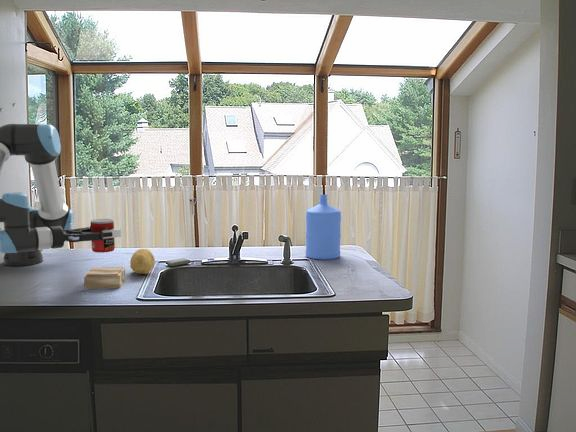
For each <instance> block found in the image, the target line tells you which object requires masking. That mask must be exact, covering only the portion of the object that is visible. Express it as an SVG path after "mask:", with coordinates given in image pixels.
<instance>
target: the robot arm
mask: <svg viewBox="0 0 576 432" xmlns="http://www.w3.org/2000/svg"><path fill="white" fill-rule="evenodd" d="M61 151H62V145H61V138H60V135H59V132H58V130H57V128H56V127H55V126H54V125H52V124H44V123H37V124H36V123H35V124H33V123H8V124H4V125H1V126H0V174H1V173H2V170H3V168H4V164H5V162H7V161H8V160H9V159H10V157H12V156H23V157H24V159H25V160H24V161H25V162H26V163H27V164H29V165H30V166H31V167H30V168H31V171H32V174H33V175H32V176H33V179H34V183H35V188H36V192H37V195H38V201H39V204H40V206H39V208H38V209H37V208H36V207H35V206H30V205H29V197H28V194H27V193H25V192H17V191H16V192H5V193H3V194H2V196H1V198H0V223H3V228H4V229H2V230H0V253H2V254H4V255H3V257H2V258H3V259H2V261H3V265H4V266H9V267H10V266H11V267H21V266H23V265H24V266H31V265H35V264H36V265H37V264H39V263H42V262H43V261H44V257H43V253H42V252H43V250H49V249H61V248H64V245H65V242H68V243H79V242H90V241H93V240H101V241H103V239H105V238H114V239H115V238H121V237H122V230H121V229H122V228H117V229H115V228H114V230H105V231H100V232H91V225H89V226H87V227H80V228H73V226H74V215H75V214H74V210H73V209H72V208H69V207H68V205H67V203H65V202H64V201H63V196H62V192H61V188H60V187H61V186H60V182H59V177H58V172H57V171H58V170H57V166H56V160H57V159H58V157H59V155H60V154H61Z"/></svg>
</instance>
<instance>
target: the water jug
mask: <svg viewBox="0 0 576 432" xmlns="http://www.w3.org/2000/svg"><path fill="white" fill-rule="evenodd" d="M319 197H320V199H319V200H320V202H319V204H317V205H314V206H313V207H311V208H309V209H307V210H306V214H305V221H306V222H305V224H306V225H305V227H306V228H305V256H306V257H307V258H309V259H312V260H319V261H320V260H322V261H323V260H324V261H325V260H329V261H330V260H335V259H338V258H339V257H340V256H341V234H342V233H341V219H342V215H341V214H342V213H341V210H340V209H338V208H335V207H334V206H332V205H330V204H329V203H328V194H319Z"/></svg>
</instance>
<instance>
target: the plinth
mask: <svg viewBox="0 0 576 432" xmlns="http://www.w3.org/2000/svg"><path fill="white" fill-rule="evenodd" d="M125 280H126V268H125V267H123V266H108V267H107V266H106V267H98V266H97V267H91V269H90V270H89V271H88V272H87V273H86V274H85V275H84V276H83V283H84V285H83V286H84V290H93V289H94V290H97V289H102V290H103V289H121V287H122V285H123V284H124V283H125Z"/></svg>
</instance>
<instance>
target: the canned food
mask: <svg viewBox="0 0 576 432" xmlns="http://www.w3.org/2000/svg"><path fill="white" fill-rule="evenodd" d="M90 226H91V232H100V231H105V230H115V222H114V219H112V218H111V219H110V218H96V219H92V220H90ZM115 242H116V241H115V237H114V238H105V239H103V241H101V240H93V241H91V251H92V252H93V253H103V254H104V253H110V252H114V251H115V248H116V247H115V244H116V243H115Z"/></svg>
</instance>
